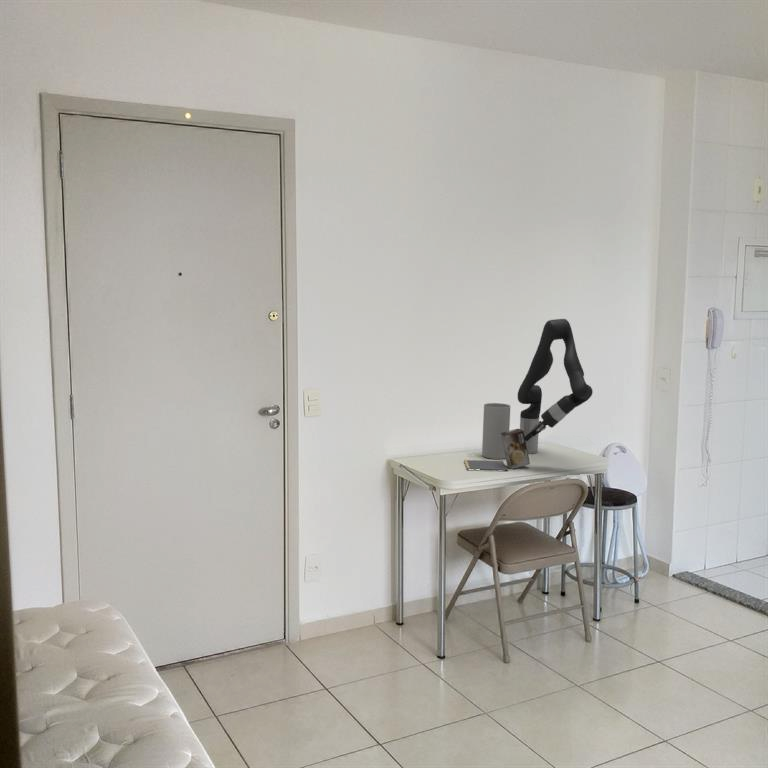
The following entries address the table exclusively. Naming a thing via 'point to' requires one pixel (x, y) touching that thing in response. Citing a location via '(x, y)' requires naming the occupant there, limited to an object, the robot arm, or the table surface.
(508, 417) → the cylinder vase
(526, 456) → the coffee box
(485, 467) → the mat
